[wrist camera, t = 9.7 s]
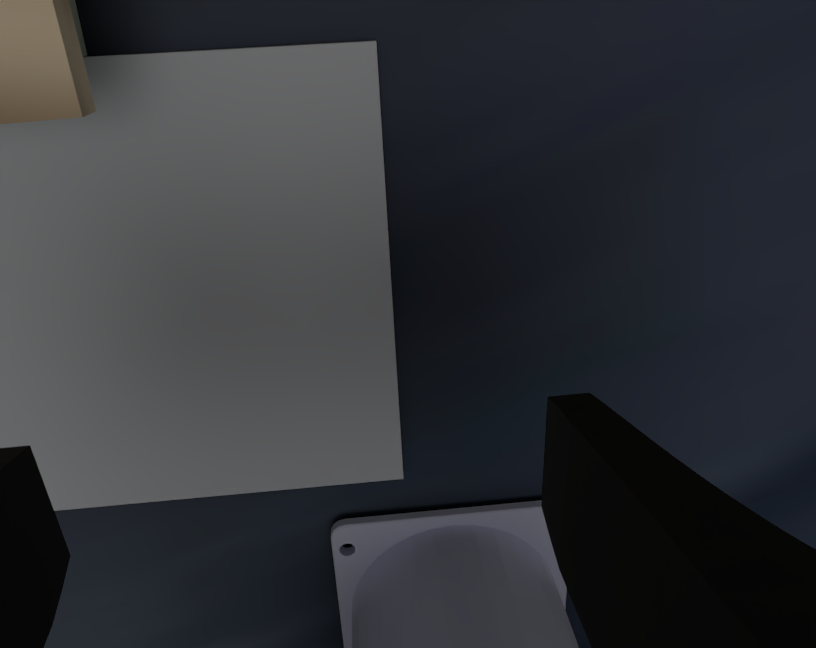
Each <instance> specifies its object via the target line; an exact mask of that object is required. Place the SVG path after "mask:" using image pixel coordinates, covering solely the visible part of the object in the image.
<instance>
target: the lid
mask: <svg viewBox="0 0 816 648" xmlns="http://www.w3.org/2000/svg"><path fill="white" fill-rule="evenodd" d="M95 111H96V108H95V104H94V100H93V96H92V92H91V88H90V84H89V80H88V76H87V72H86V68H85V64H84V60H83V56H82V52H81V48H80V44H79V40H78V36H77V32H76V28H75V24H74V20H73V16H72V12H71V8H70V4H69V0H0V124H10V123H21V122H33V121H44V120H56V119H68V118H79V117H84V116H86V115H89V114H91V113H93V112H95Z"/></svg>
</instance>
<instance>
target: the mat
mask: <svg viewBox="0 0 816 648" xmlns="http://www.w3.org/2000/svg"><path fill="white" fill-rule="evenodd" d="M83 60H84V64H85V68H86V72H87V76H88V80H89V84H90V88H91V92H92V96H93V100H94V104H95V108H96V111H95V112H93V113H91V114H89V115H86V116H84V117H79V118H68V119H56V120H44V121H33V122H21V123H10V124H0V448H7V447H18V446H29V445H30V447H31V449H32V452H33V455H34V457H35V460H36V463H37V466H38V468H39V471H40V474H41V477H42V479H43V482H44V485H45V487H46V490H47V493H48V496H49V498H50V501H51V504H52V507H53V509H54V511H57V510H68V509H79V508H90V507H101V506H112V505H123V504H134V503H145V502H156V501H167V500H178V499H189V498H199V497H210V496H221V495H232V494H243V493H254V492H265V491H276V490H287V489H298V488H309V487H320V486H331V485H342V484H352V483H363V482H374V481H385V480H396V479H403V463H402V447H401V431H400V415H399V399H398V383H397V367H396V351H395V335H394V318H393V302H392V286H391V270H390V254H389V238H388V222H387V206H386V190H385V174H384V158H383V142H382V126H381V110H380V93H379V77H378V61H377V45H376V40H371V41H353V42H335V43H318V44H300V45H282V46H264V47H246V48H229V49H211V50H193V51H175V52H158V53H140V54H122V55H104V56H86V57H83Z"/></svg>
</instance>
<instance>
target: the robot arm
mask: <svg viewBox="0 0 816 648" xmlns="http://www.w3.org/2000/svg"><path fill="white" fill-rule="evenodd" d="M331 544H332V552H333V561H334V569H335V577H336V586H337V594H338V602H339V611H340V619H341V627H342V636H343V644H344V648H579V646H578V644H577V641H576V638H575V635H574V633H573V630H572V627H571V625H570V622H569V619H568V616H567V614H566V611H565V608H566V591H567V590H568V592H569V594H570V597H571V599H572V601H573V604H574V606H575V609H576V611H577V613H578V616H579V618H580V621H581V623H582V625H583V628H584V630H585V632H586V635H587V637H588V639H589V642H590V644H591V646H592V648H816V549H814V548H812V547H810V546H809V545H807V544H805V543H803V542H801V541H800V540H798V539H796V538H795V537H793V536H791V535H790V534H788V533H786V532H785V531H783V530H781V529H780V528H778V527H777V526H775V525H773V524H772V523H770V522H769V521H767V520H766V519H764V518H762V517H761V516H759V515H758V514H756V513H755V512H753V511H752V510H750V509H749V508H747V507H746V506H744V505H742V504H741V503H739V502H738V501H736V500H735V499H733V498H732V497H730V496H729V495H727V494H726V493H724V492H723V491H721V490H720V489H718V488H717V487H716V486H714V485H713V484H711V483H710V482H708V481H707V480H705V479H704V478H703V477H701V476H700V475H698V474H697V473H696V472H694V471H693V470H691V469H690V468H689V467H687V466H686V465H684V464H683V463H682V462H680V461H679V460H678V459H676V458H675V457H674V456H672V455H671V454H669V453H668V452H667V451H665V450H664V449H663V448H661V447H660V446H659V445H657V444H656V443H655V442H654V441H652V440H651V439H650V438H648V437H647V436H646V435H644V434H643V433H642V432H640V431H639V430H638V429H637V428H635V427H634V426H633V425H631V424H630V423H629V422H627V421H626V420H625V419H624V418H622V417H621V416H620V415H618V414H617V413H616V412H615V411H613V410H612V409H611V408H609V407H608V406H607V405H605V404H604V403H603V402H601V401H600V400H599V399H597V398H596V397H595V396H593V395H592V394H590V393H583V394H572V395H561V396H551V397H548V402H547V419H546V435H545V452H544V469H543V485H542V500H539V501H529V502H518V503H507V504H497V505H486V506H476V507H465V508H454V509H444V510H433V511H423V512H412V513H401V514H391V515H380V516H370V517H359V518H348V519H342V520H339V521H337V522H336V523H334V525H333V526H332V528H331ZM344 544H352V545H353V546H352V547H349V548H346V547H343V546H342V545H344ZM69 559H70V553H69V550H68V548H67V545H66V542H65V539H64V537H63V534H62V531H61V528H60V526H59V523H58V520H57V517H56V515H55V512H54V509H53V507H52V504H51V501H50V498H49V496H48V493H47V490H46V487H45V485H44V482H43V479H42V477H41V474H40V471H39V468H38V466H37V463H36V460H35V457H34V455H33V452H32V449H31V447H30V445H29V446H18V447H7V448H0V648H43V647H44V645H45V642H46V640H47V637H48V635H49V632H50V629H51V627H52V624H53V620H54V617H55V613H56V610H57V606H58V603H59V599H60V595H61V592H62V587H63V583H64V579H65V575H66V571H67V567H68V563H69Z"/></svg>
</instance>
